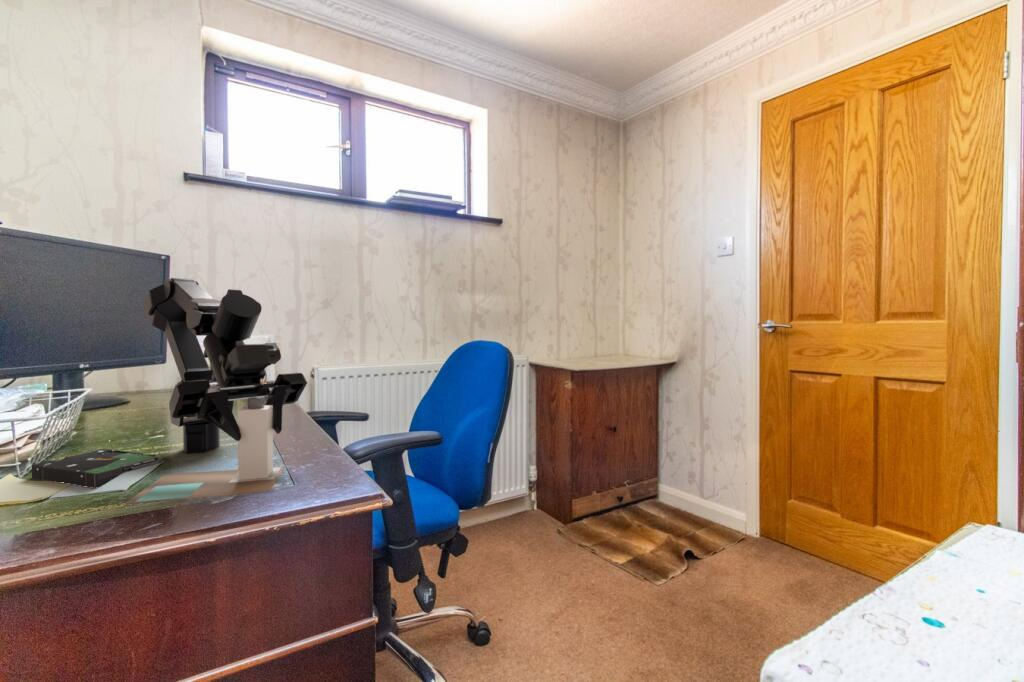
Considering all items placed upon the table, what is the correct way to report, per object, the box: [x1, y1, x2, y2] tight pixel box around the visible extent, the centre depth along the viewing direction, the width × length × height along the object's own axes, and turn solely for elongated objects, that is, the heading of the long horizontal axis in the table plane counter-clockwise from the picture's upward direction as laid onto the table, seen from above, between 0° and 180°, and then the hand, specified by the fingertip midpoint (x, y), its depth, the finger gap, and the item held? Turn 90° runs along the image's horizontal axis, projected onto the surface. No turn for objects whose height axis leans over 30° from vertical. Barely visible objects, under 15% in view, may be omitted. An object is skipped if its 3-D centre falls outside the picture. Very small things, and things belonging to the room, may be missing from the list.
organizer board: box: [124, 465, 286, 505], centre depth 67 cm, size 12×17×1 cm
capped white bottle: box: [237, 397, 274, 480], centre depth 71 cm, size 4×4×12 cm
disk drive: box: [31, 448, 164, 489], centre depth 75 cm, size 10×3×15 cm
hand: (260, 435), depth 70 cm, fingers closed on capped white bottle, 5 cm apart
